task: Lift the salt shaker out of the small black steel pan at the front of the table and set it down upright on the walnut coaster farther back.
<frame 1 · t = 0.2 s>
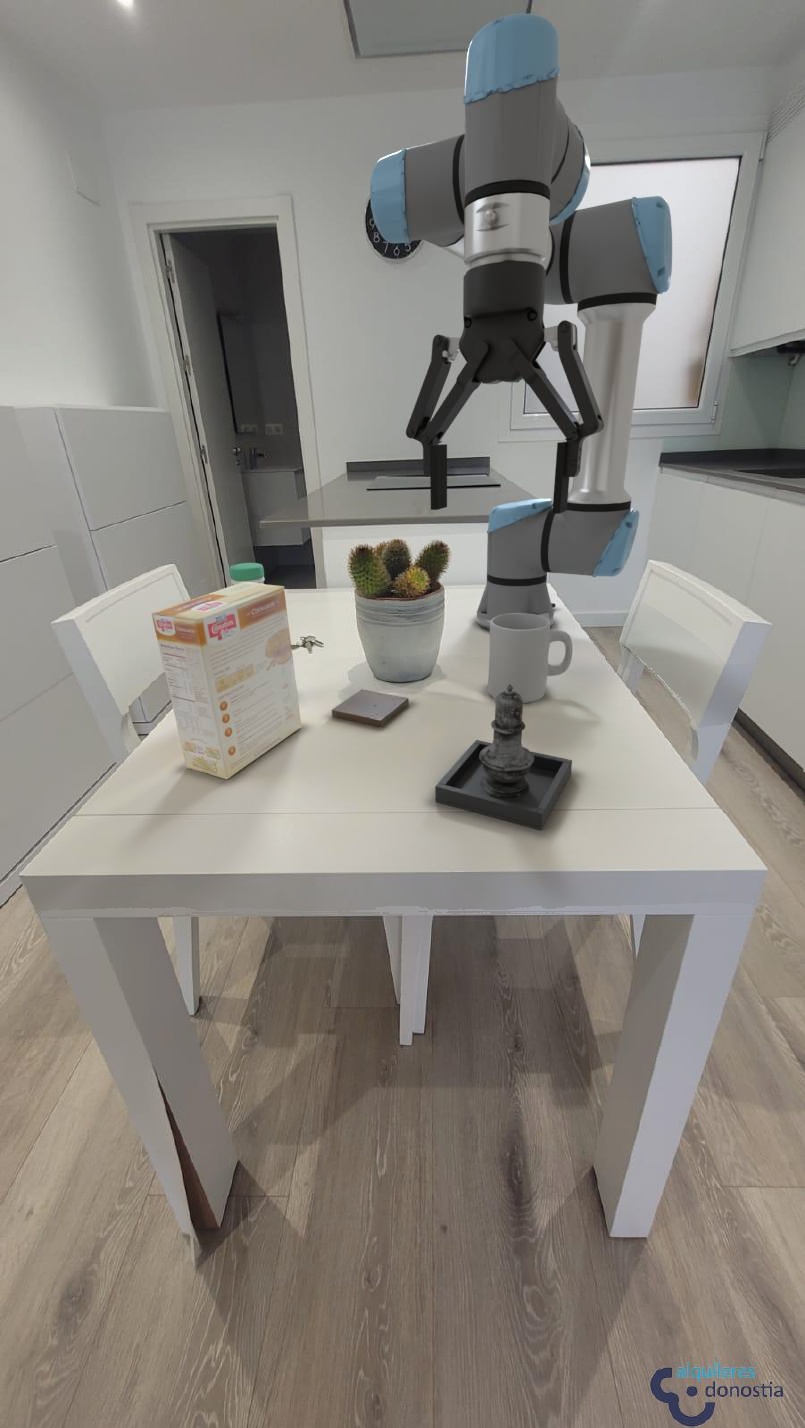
hand: (496, 510, 64), 28 cm above the table, tool pointing down, fingers open, 13 cm apart
milk bottle: (265, 699, 90), on the table
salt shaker: (505, 785, 66), resting on pan
pan: (505, 787, 66), on the table
mug: (527, 692, 89), on the table
coaster: (371, 710, 85), on the table
coffeecake box: (247, 748, 77), on the table
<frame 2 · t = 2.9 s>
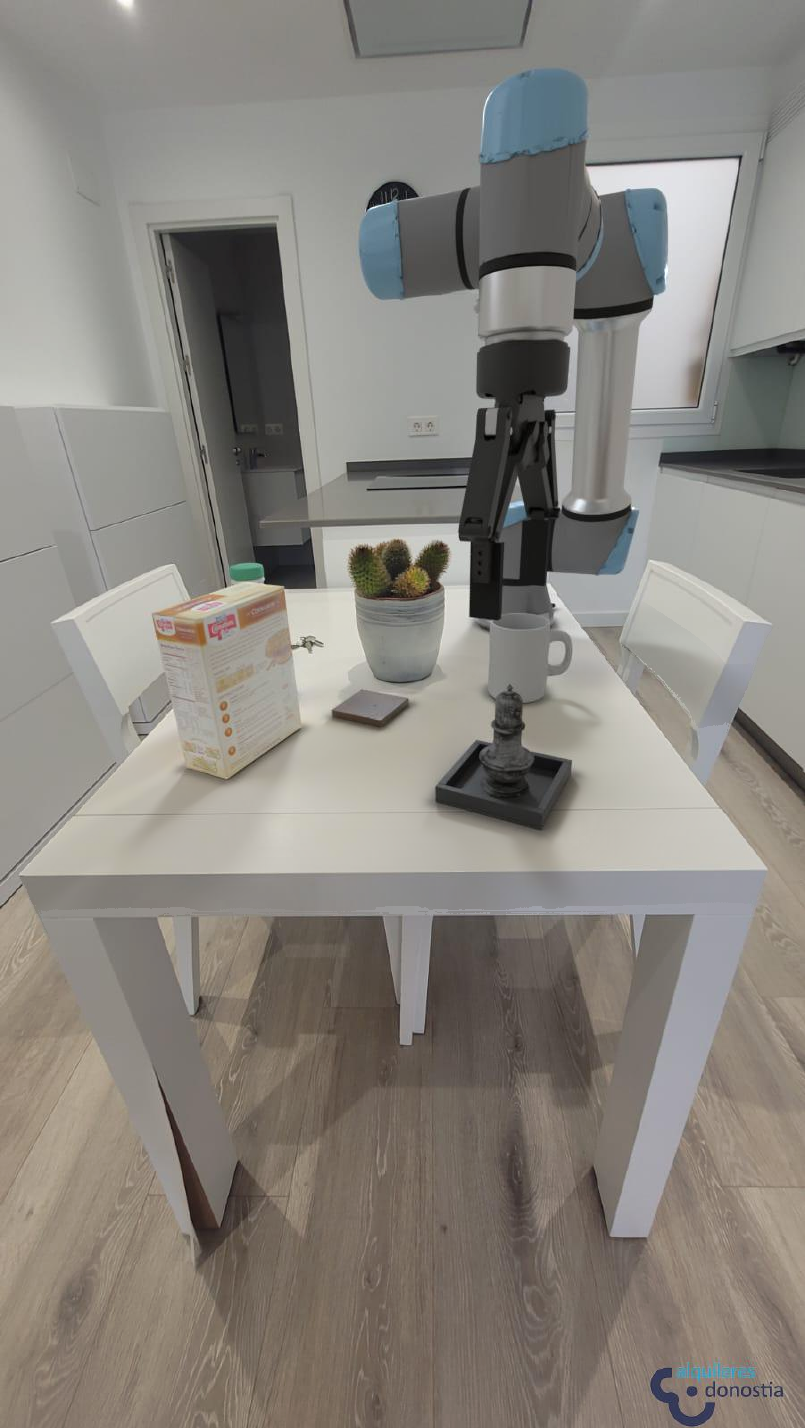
hand: (510, 600, 57), 21 cm above the table, tool pointing down, fingers open, 13 cm apart
nothing on the table moved.
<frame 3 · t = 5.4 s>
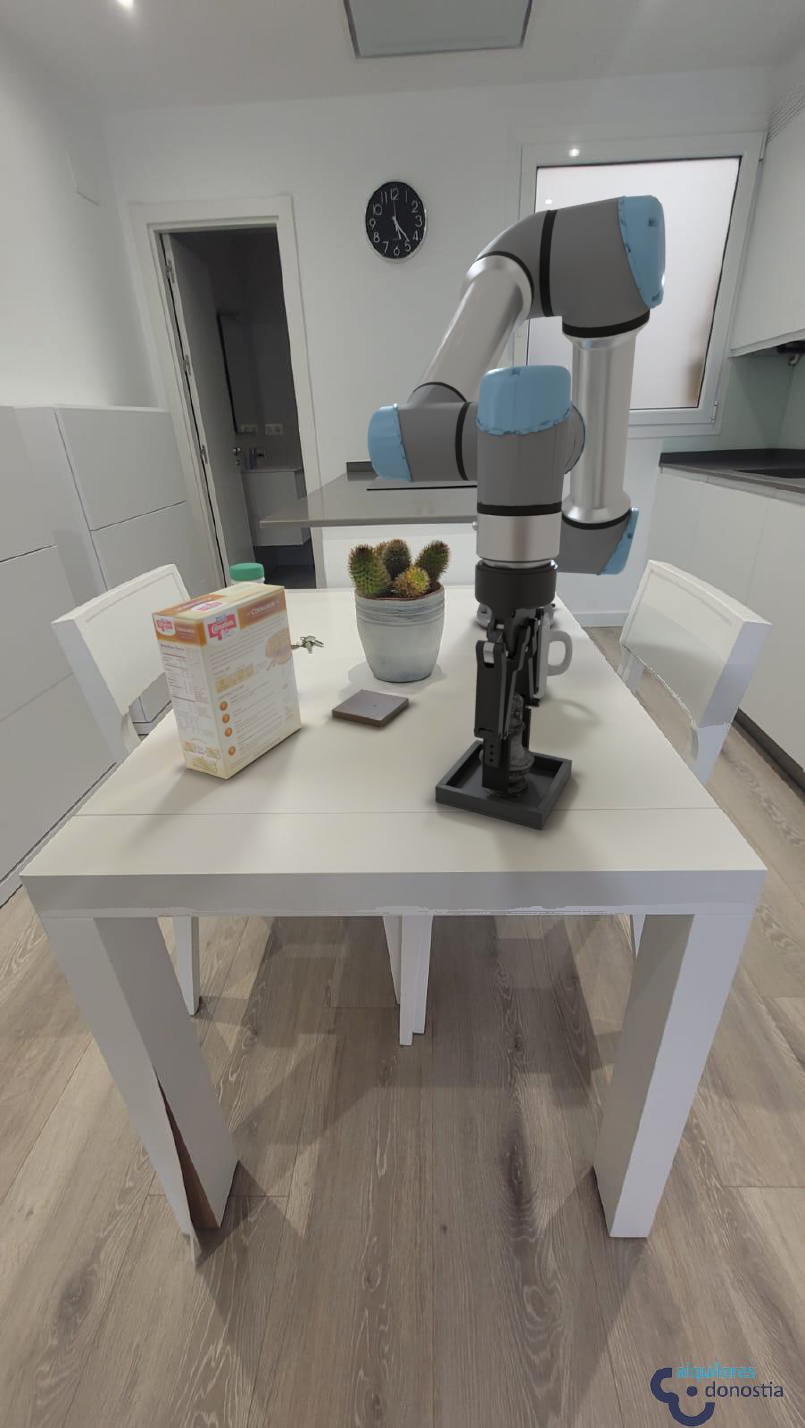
hand: (505, 773, 65), 2 cm above the table, tool pointing down, fingers closed on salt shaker, 6 cm apart
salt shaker: (505, 785, 66), resting on pan, touching gripper
everything else where it was.
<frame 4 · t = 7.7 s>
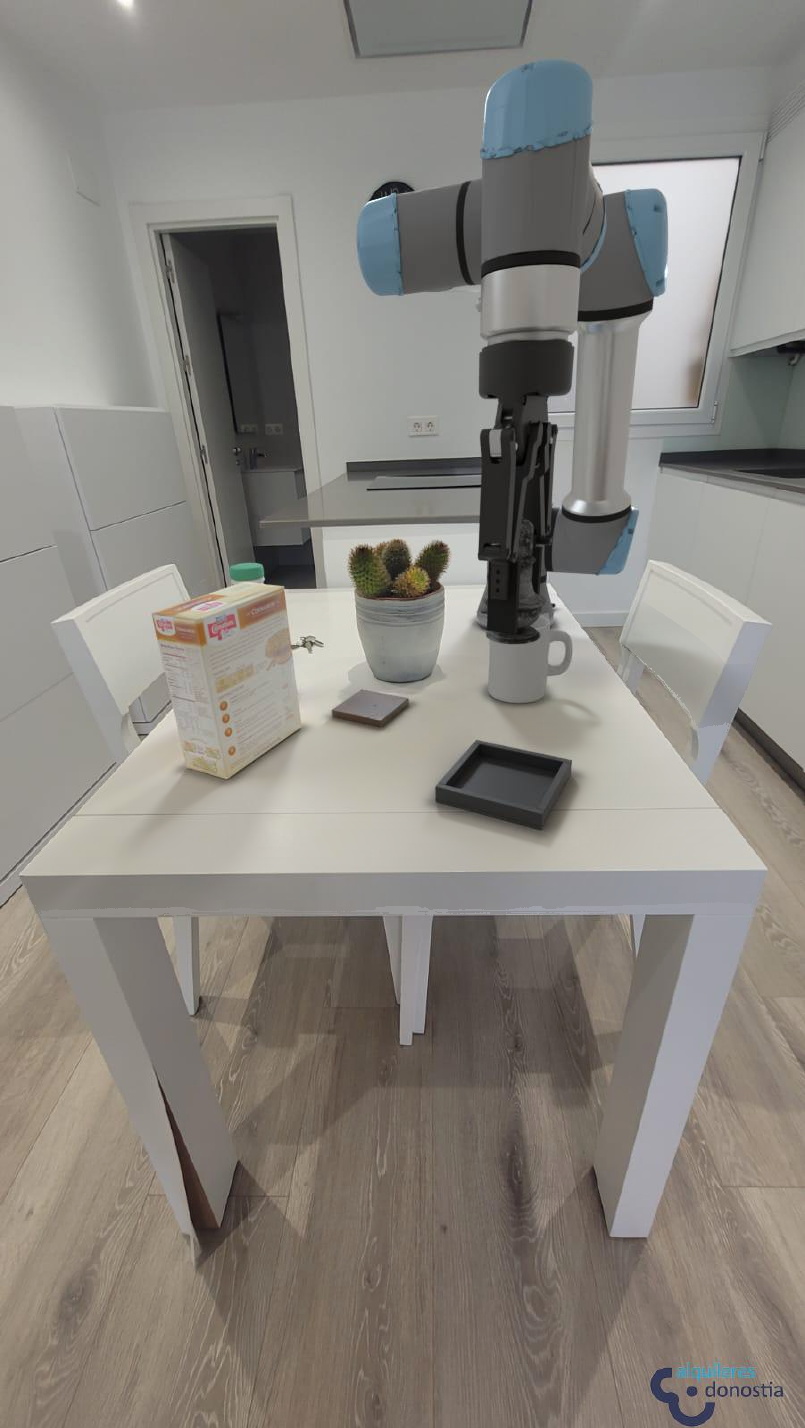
hand: (513, 620, 58), 19 cm above the table, tool pointing down, fingers closed on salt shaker, 6 cm apart
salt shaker: (512, 637, 58), point 17 cm above the table, touching gripper
everything else where it was.
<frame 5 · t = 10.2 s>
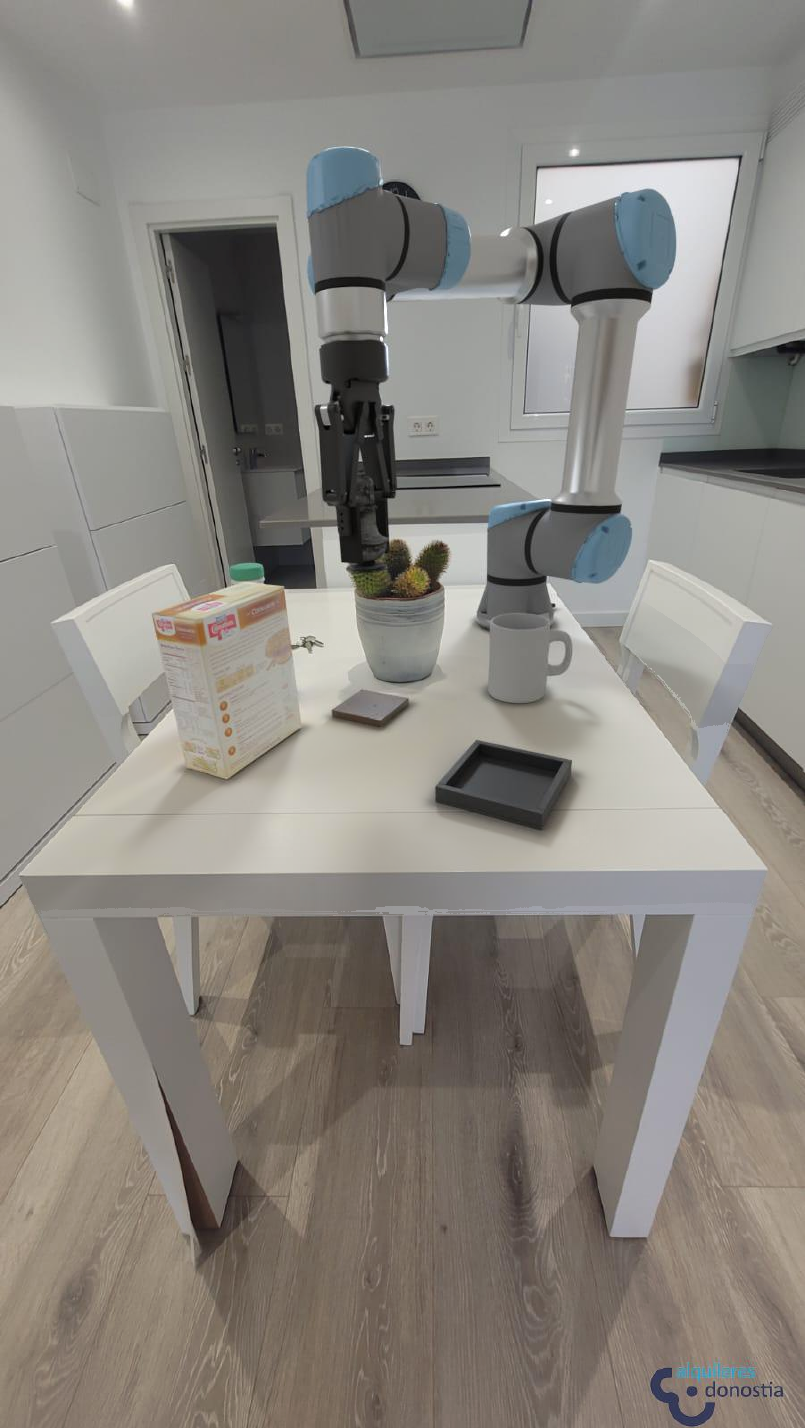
hand: (366, 556, 75), 22 cm above the table, tool pointing down, fingers closed on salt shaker, 6 cm apart
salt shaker: (366, 570, 76), point 20 cm above the table, touching gripper
everything else where it was.
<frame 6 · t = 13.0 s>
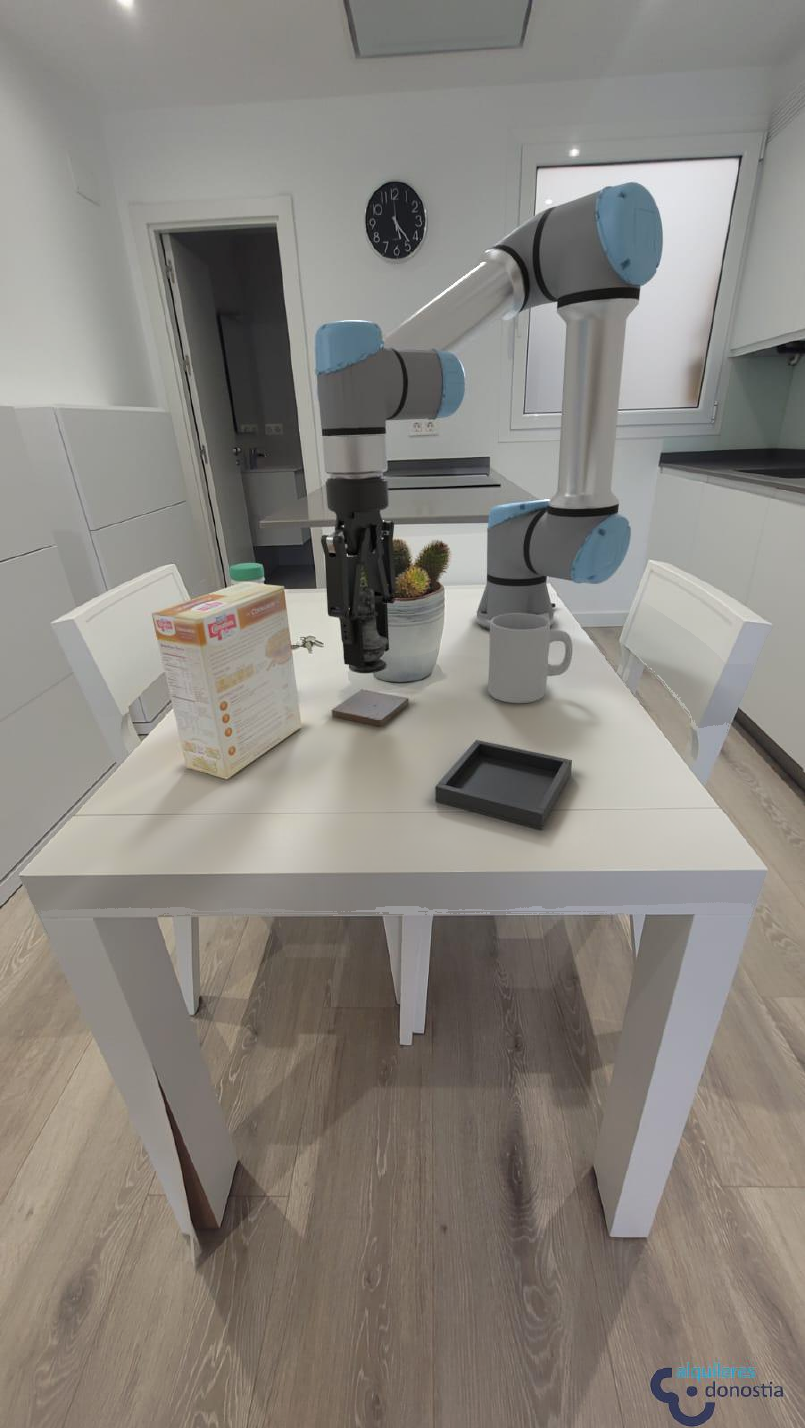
hand: (367, 656, 81), 8 cm above the table, tool pointing down, fingers closed on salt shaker, 6 cm apart
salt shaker: (367, 667, 82), point 7 cm above the table, touching gripper
everything else where it was.
when the fingers open (2 cm above the table, at t = 14.8 s): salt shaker stays where it is, resting on coaster.
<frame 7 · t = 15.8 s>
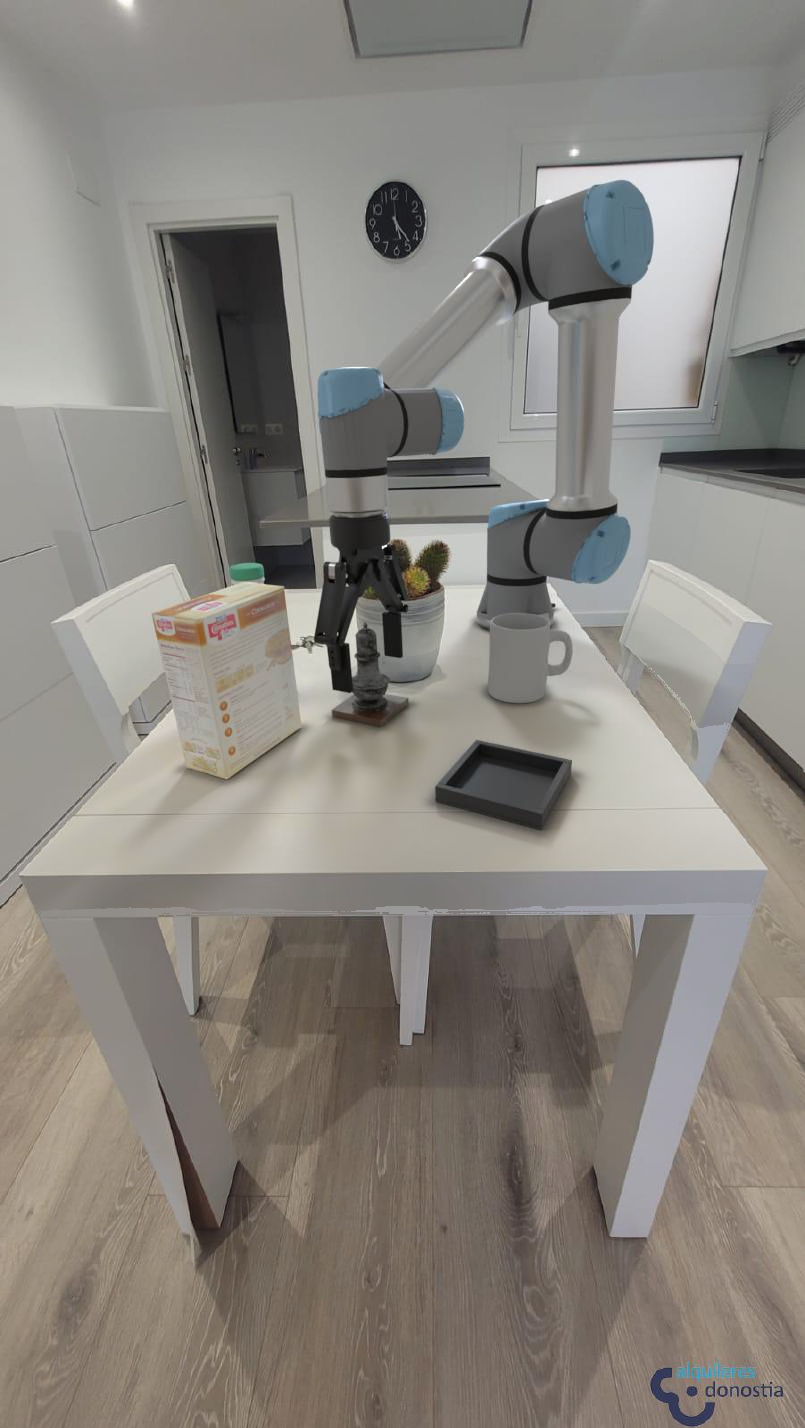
hand: (369, 672, 83), 6 cm above the table, tool pointing down, fingers open, 13 cm apart
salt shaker: (370, 705, 85), point 1 cm above the table, touching coaster
everything else where it was.
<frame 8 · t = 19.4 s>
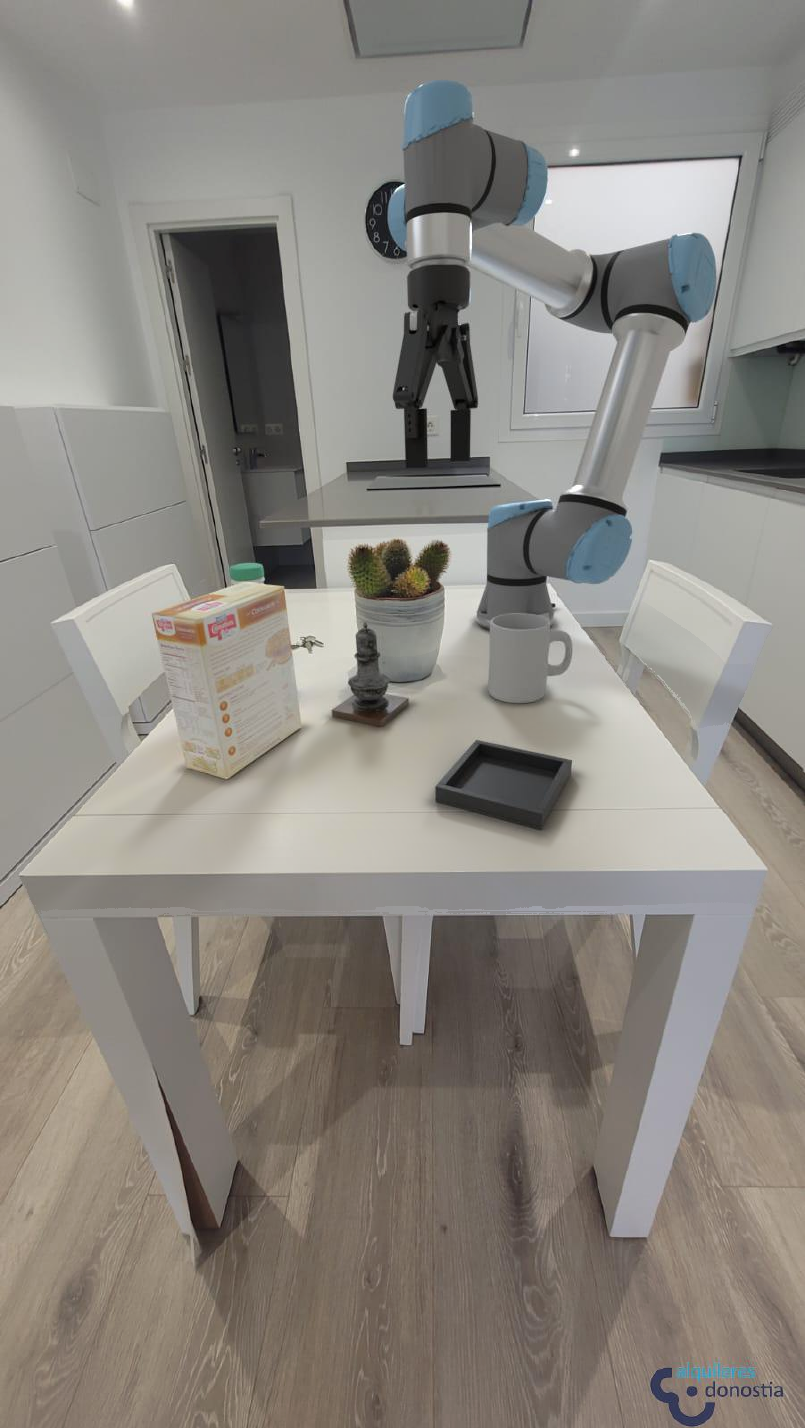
hand: (439, 464, 79), 32 cm above the table, tool pointing down, fingers open, 13 cm apart
nothing on the table moved.
at the end: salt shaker inside the target area on the coaster (0.0 cm from its centre), point 0.8 cm above the coaster's base; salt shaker tilted 0°; the gripper is holding nothing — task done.
